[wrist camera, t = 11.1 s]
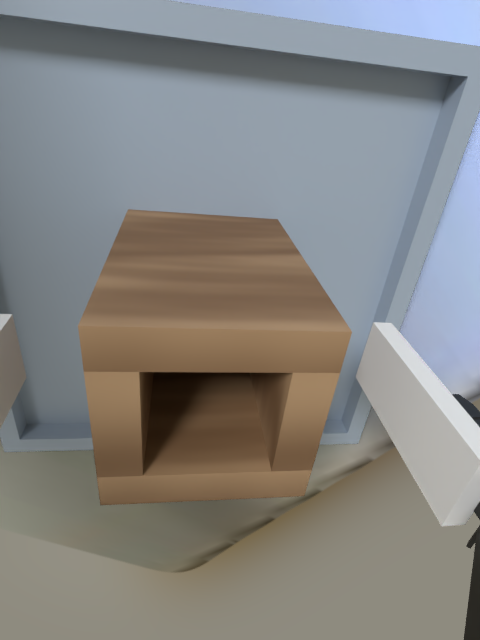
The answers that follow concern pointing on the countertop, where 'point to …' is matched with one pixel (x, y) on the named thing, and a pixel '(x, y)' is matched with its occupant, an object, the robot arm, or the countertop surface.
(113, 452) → the wooden hollow block
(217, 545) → the countertop surface
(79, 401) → the tray
